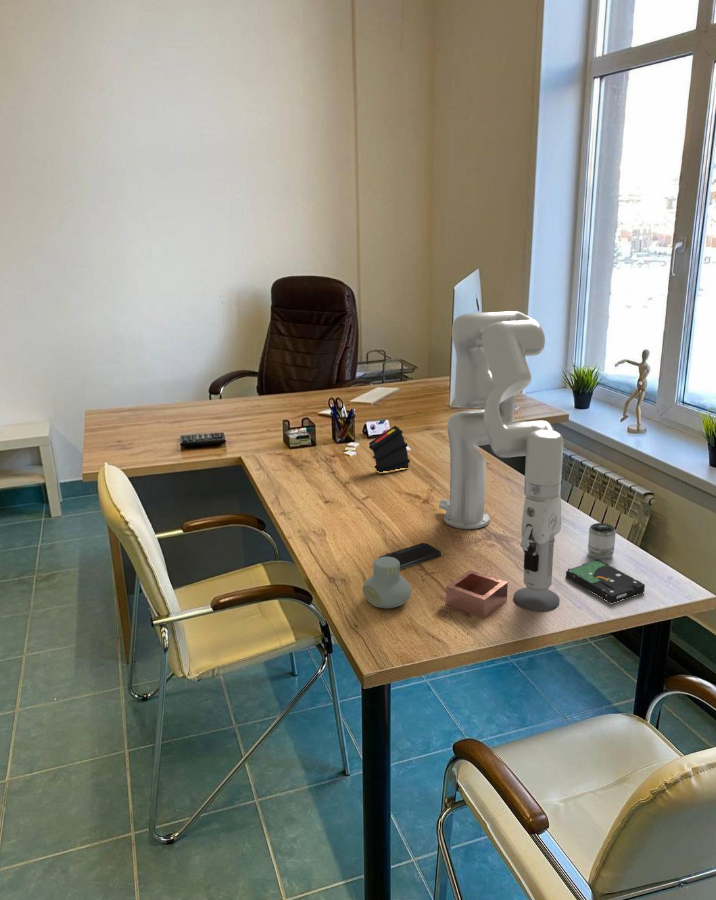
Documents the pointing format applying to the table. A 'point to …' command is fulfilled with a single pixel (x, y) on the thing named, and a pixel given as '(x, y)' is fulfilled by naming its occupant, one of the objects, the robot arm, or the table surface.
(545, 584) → the energy drink can
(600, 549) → the camera lens
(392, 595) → the air freshener
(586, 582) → the disk drive
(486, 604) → the collar
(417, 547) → the phone
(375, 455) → the magazine
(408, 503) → the table surface
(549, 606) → the mat
